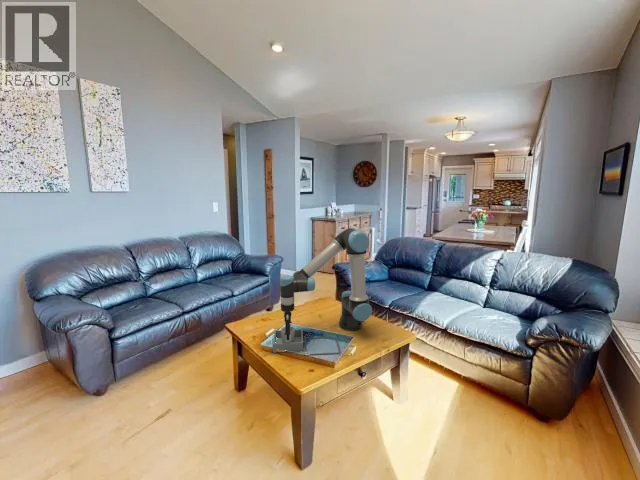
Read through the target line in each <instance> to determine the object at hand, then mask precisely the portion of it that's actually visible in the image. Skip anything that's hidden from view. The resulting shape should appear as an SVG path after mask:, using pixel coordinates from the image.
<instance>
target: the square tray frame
mask: <svg viewBox="0 0 640 480" xmlns="http://www.w3.org/2000/svg"><path fill="white" fill-rule="evenodd" d="M332 337H333V336H315V337H313V336H312V337H303V345H304V351H303V355H304V354H310V355H309V356H322V355H323V356H325V355H341V354H342V351H341V346H340V344H339V340H338V338H337V339H336V338H334V340H335V342H336V346H337V350H338V352H323V353H322V352H321V353H320V352H318V353H316V352H315V353H309V352H308V351H307V349H308V348H307V340H318V339H333V338H332ZM340 353H341V354H340Z"/></svg>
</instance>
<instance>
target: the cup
mask: <svg viewBox="0 0 640 480" xmlns="http://www.w3.org/2000/svg"><path fill="white" fill-rule="evenodd" d="M280 330H281V334H282V341H283V343H286V340H285V335H284V333H285V326H283V327H281V329H280ZM295 330H296V328H295V327H294V326H292V325H291V326H290V342H291V343H292V342H293V341H294V334H295Z"/></svg>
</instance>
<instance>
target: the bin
mask: <svg viewBox="0 0 640 480" xmlns="http://www.w3.org/2000/svg"><path fill="white" fill-rule="evenodd" d="M273 332H274V333H273V337H272V353H273V354H275V353H276V350H277V349H279V350H289V351H302V352H304V336H303V335H304V334H303V333H304V332H303V329H302V328H301V329H298V328H297V329H295V334H294V341H293V342H292V343H283V341H282V334H281V329H276V330H274V331H273ZM276 337H277V338H278V339H277V340H276ZM275 342H276V343H275Z"/></svg>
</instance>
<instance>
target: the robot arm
mask: <svg viewBox="0 0 640 480" xmlns="http://www.w3.org/2000/svg"><path fill="white" fill-rule="evenodd" d="M369 245H370V238H369V236H368V235H367V234H366V232H363V231H362V230H359V229H355V228H351V227H349V228H345V229H343V231H341V232H340V233H338V234H337V235H336V236H335V237H334V238H333V239H332V242H331V243H330V244H329V245H328V246H326V247H325V248H324V249H322V250H321V251H320V252H319V253H318V254H317V255H316V256H315V257H314V258H313V259H311V260H310V261H309V262H308V263H307V264H306V265H305V266H303V267H302V268H301V269H300V270H296V271H294V272H293V274H292V275H290V274H289V275H285V274H284V275H283V276H281V277H280V283H279V286H280V287H279V289H280V297H279V300H280V310H281V312H283V316H284V317H283V318H284V327H285V333H284V335H285V340H286V343H291V342H290V326H291V327H292V325H291V324H292V312H293V311H294V310H295V294H296V293H304V292H307V293H308V292H312V291H313V292H314V290H315V289H316V280H315V278H314V277H313V276H314V275H315V274H316V273H317V272H319V271H320V270H321V269H322V268H324V267H325V266H326V265H327V264H328V263H329V262H330V261H331V260H333V259H334V258H335V257H336V256H337V255H338V254H339V253H340V252H343V251H345V250H346V255H347V256H349V269H350V270H349V272H350V275H349V276H350V288H351V289H350V290H344V291H343V292H342V293H341V315H340V317H339V321H338V326H339V327H340V329H343V330H346V331H357V330H361V328H362V327H363V322H364V321H367V320H368V319H369V318H370V317H371V316H372V313H373V307H372V305H371V304H370V302H369V301H370V300H369V298H370V297H369V295H367V292H366V286H367V285H366V267H365V256H366V254H367V253H368V251H367V250H368V248H369Z"/></svg>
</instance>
